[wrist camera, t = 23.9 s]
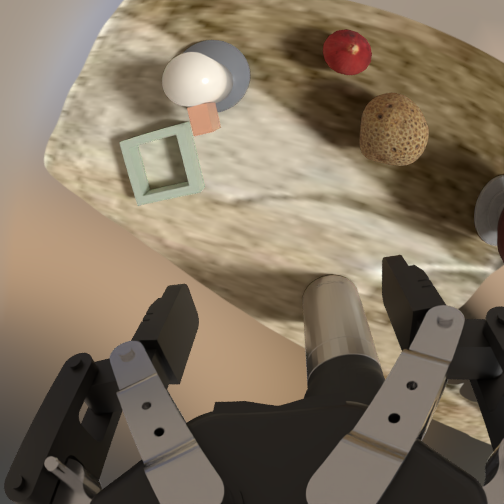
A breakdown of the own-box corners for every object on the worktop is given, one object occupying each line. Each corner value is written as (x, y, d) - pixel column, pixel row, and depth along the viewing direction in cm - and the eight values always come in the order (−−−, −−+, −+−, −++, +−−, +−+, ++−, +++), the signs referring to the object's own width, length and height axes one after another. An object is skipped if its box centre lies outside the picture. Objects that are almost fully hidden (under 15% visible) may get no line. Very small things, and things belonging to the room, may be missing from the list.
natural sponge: (417, 104, 36) (452, 108, 27) (405, 164, 40) (435, 183, 31) (355, 86, 36) (377, 83, 27) (344, 149, 40) (362, 165, 32)
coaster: (257, 104, 39) (256, 104, 38) (184, 120, 40) (181, 121, 39) (241, 34, 34) (240, 32, 33) (168, 53, 36) (165, 52, 35)
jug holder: (205, 186, 44) (200, 192, 42) (145, 199, 46) (137, 205, 43) (189, 121, 40) (182, 123, 38) (128, 138, 42) (119, 142, 39)
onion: (322, 31, 33) (332, 17, 26) (365, 41, 33) (384, 31, 26) (316, 71, 36) (324, 65, 29) (359, 81, 36) (376, 78, 29)
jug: (186, 68, 36) (157, 61, 27) (228, 57, 35) (211, 45, 26) (200, 129, 40) (175, 141, 30) (242, 120, 39) (230, 128, 29)
